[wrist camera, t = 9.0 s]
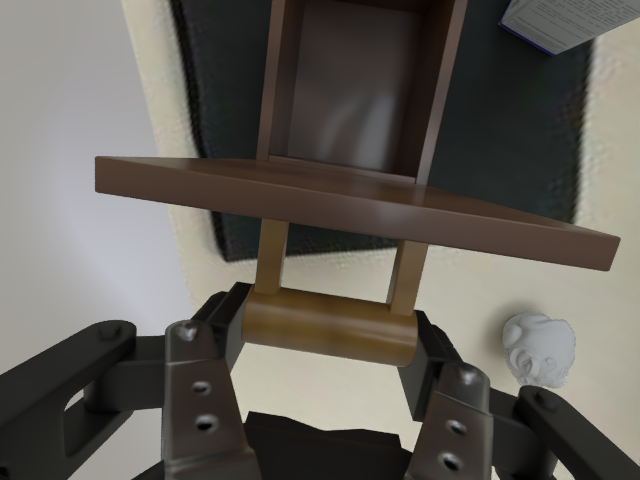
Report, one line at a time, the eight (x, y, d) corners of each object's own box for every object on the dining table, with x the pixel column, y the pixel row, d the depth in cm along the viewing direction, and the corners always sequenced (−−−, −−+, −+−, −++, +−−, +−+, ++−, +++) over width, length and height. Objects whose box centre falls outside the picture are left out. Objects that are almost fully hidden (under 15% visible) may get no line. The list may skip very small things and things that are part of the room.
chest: (298, -12, 29) (281, -94, 19) (433, 9, 29) (482, -64, 19) (278, 162, 32) (255, 165, 23) (398, 181, 32) (425, 191, 23)
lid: (93, 155, 7) (94, 361, 9) (622, 237, 7) (550, 433, 9) (254, 159, 22) (246, 233, 24) (428, 186, 22) (412, 259, 24)
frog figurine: (472, 340, 36) (504, 382, 29) (514, 286, 34) (558, 318, 28) (519, 366, 36) (561, 414, 30) (562, 315, 35) (617, 353, 28)
